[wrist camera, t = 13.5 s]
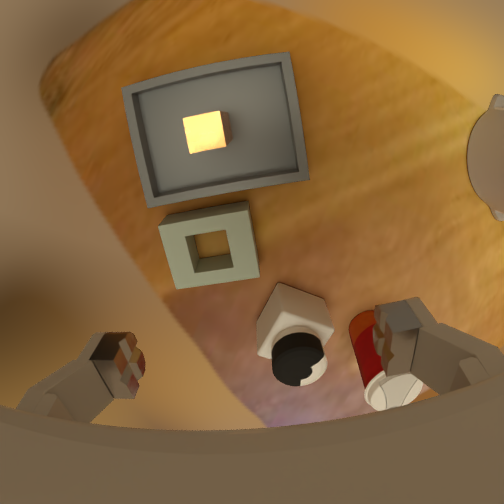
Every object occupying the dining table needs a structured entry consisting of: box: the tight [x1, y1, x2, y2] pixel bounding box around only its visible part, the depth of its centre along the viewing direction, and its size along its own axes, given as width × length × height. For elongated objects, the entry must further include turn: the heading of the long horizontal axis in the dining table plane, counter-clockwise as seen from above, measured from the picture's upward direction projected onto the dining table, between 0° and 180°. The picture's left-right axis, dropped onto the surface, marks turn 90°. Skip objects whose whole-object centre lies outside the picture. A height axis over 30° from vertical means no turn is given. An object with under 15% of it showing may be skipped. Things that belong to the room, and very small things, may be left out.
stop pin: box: [183, 111, 233, 154], centre depth 29 cm, size 3×3×10 cm
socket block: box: [158, 201, 260, 289], centre depth 38 cm, size 10×8×4 cm
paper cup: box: [349, 311, 423, 411], centre depth 39 cm, size 8×8×14 cm
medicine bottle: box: [257, 283, 335, 386], centre depth 38 cm, size 7×7×12 cm
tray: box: [121, 52, 310, 208], centre depth 33 cm, size 18×14×3 cm
